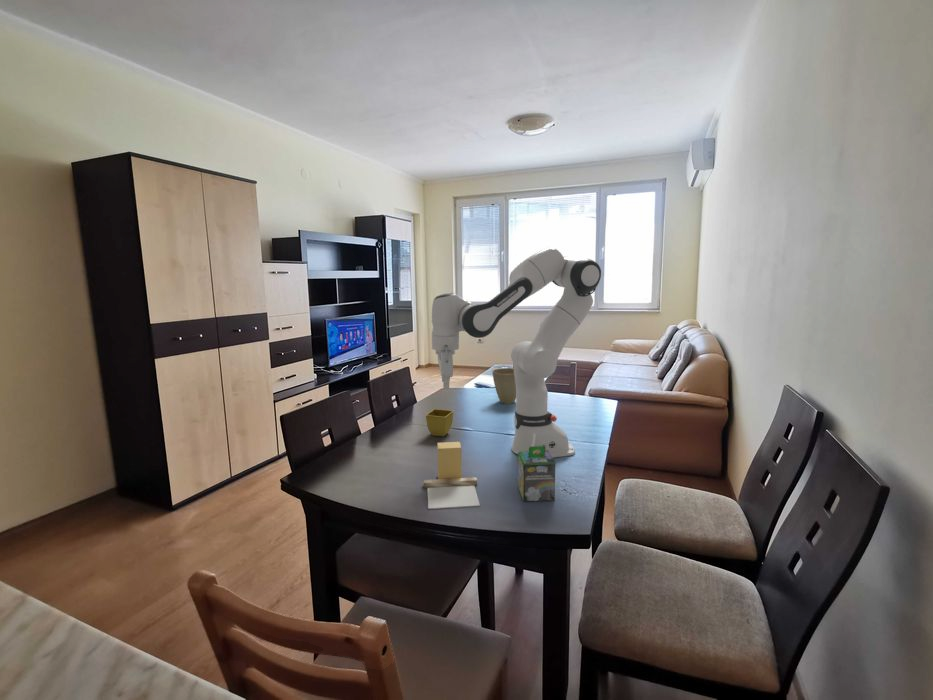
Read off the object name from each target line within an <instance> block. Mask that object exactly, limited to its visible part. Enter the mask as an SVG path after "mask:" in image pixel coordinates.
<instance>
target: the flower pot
mask: <svg viewBox="0 0 933 700" xmlns="http://www.w3.org/2000/svg"><path fill="white" fill-rule="evenodd" d="M453 419H454V410H451V409H450V410H449V409H440V408H438V409H437V408H433V409H432V410H430V412H429V411H428V412H427V413H426V414H425V420H426V426H427V429H428V431H429V433H430V434H431V435H432V436H436V437H445V436H446V435H447V434H448V433H449V432H450V430H451V428H452V425H453V421H454V420H453Z"/></svg>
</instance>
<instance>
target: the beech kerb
mask: <svg viewBox="0 0 933 700" xmlns="http://www.w3.org/2000/svg"><path fill="white" fill-rule="evenodd" d="M470 485H474V486H476V485H477V486H478V478H477V477H476V476H475V477H474V476H473V477H462V478H453V479H438V478H437V479H436V478H435V479H424V480H423V488H424V489H425V488H426V489H427V488H435V487H452V486H470Z"/></svg>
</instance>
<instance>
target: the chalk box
mask: <svg viewBox="0 0 933 700" xmlns="http://www.w3.org/2000/svg"><path fill="white" fill-rule="evenodd" d="M534 450H537V451H534ZM517 455H518V458H517V459H518V460H517V462H518V465H517V466H518V468H517V469H518V490H519V492H520V496H521V498H522V501H523V502H549V501H550V502H551V501H552V502H554V501H555V500H556V499H555V498H556V495H555V493H556V489H555V488H556V461H555V460H554V459H555V458H552V456H551V454H550V453H549V451H548V450H545V446H533V447H529V451H522V452H519V453H518V454H517ZM553 500H554V501H553Z"/></svg>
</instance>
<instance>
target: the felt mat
mask: <svg viewBox="0 0 933 700" xmlns="http://www.w3.org/2000/svg"><path fill="white" fill-rule="evenodd" d="M475 486H476V485H465V486H447V487H430V488H426V489H427V508H428V510H436V509H437V510H438V509H440V510H441V509H454V508H455V509H456V508H457V509H459V508H471V507H473V508H474V507H480V506H481V505H480V504H481V503H480V502H479V497H478V495H477V490H476V487H475Z"/></svg>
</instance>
